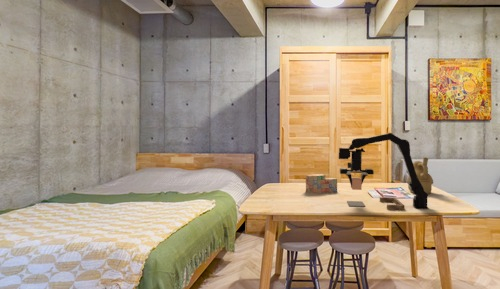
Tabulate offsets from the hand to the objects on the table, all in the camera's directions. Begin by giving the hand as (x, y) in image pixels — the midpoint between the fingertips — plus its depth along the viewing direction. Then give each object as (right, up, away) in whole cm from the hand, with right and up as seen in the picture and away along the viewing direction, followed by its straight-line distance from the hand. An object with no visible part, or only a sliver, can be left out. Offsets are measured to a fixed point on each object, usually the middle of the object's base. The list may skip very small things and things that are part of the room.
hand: (356, 185), depth 204 cm
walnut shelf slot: (+20, -11, -3) cm, 23 cm away
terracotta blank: (0, -2, 0) cm, 2 cm away
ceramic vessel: (+54, -9, +34) cm, 65 cm away
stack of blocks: (-12, -10, +41) cm, 44 cm away
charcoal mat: (0, -11, +1) cm, 11 cm away
